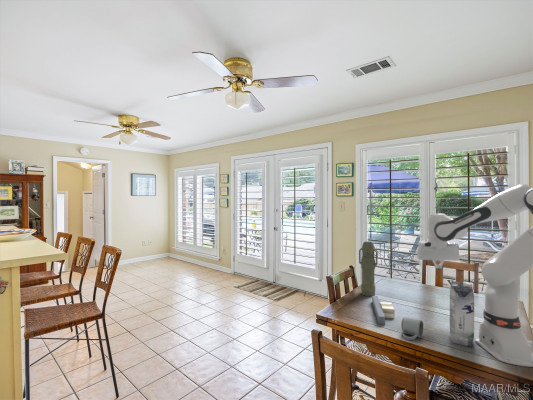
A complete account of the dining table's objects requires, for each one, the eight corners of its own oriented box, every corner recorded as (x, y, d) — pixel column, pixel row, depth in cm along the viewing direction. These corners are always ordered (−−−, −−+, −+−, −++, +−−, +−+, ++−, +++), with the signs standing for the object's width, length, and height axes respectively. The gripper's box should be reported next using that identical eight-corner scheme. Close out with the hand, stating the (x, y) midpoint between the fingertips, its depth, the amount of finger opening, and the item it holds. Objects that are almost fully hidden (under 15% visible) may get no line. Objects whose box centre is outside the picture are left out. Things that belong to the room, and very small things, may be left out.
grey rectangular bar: (385, 324, 140) (385, 317, 140) (378, 324, 141) (378, 316, 141) (377, 302, 169) (377, 296, 169) (372, 302, 170) (372, 295, 170)
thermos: (377, 297, 177) (377, 243, 177) (358, 294, 183) (358, 242, 182) (378, 293, 185) (378, 241, 185) (359, 290, 191) (359, 240, 190)
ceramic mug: (405, 328, 136) (405, 313, 136) (423, 334, 131) (423, 318, 131) (398, 337, 129) (398, 321, 128) (417, 343, 123) (417, 326, 123)
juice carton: (449, 343, 123) (449, 283, 122) (449, 333, 132) (449, 277, 131) (474, 349, 118) (474, 286, 117) (472, 338, 127) (473, 280, 126)
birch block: (394, 318, 148) (394, 309, 148) (382, 317, 149) (382, 308, 149) (391, 311, 158) (391, 302, 157) (379, 310, 159) (379, 301, 159)
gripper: (456, 242, 152) (457, 267, 152) (415, 241, 157) (416, 266, 157) (461, 244, 146) (462, 270, 146) (419, 243, 150) (420, 268, 150)
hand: (438, 268), depth 151 cm, fingers closed
